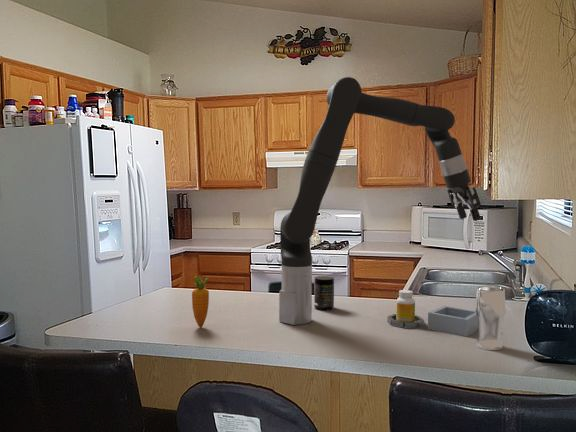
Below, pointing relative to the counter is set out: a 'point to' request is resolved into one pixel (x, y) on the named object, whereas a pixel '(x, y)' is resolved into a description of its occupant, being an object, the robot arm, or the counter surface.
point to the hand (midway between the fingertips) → (470, 219)
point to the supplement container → (324, 292)
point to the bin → (453, 320)
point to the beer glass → (490, 316)
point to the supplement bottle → (405, 307)
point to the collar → (394, 322)
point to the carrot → (200, 301)
